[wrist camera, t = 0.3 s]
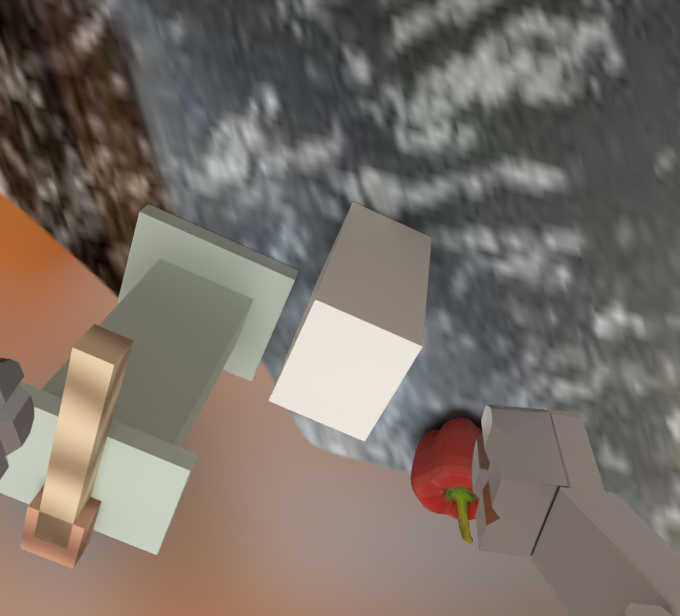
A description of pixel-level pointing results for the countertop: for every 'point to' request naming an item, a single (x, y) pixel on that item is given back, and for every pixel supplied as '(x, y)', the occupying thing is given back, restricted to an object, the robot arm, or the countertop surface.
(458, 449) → the vegetable
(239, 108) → the countertop surface
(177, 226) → the shelf stand
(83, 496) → the bar
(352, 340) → the rest block
